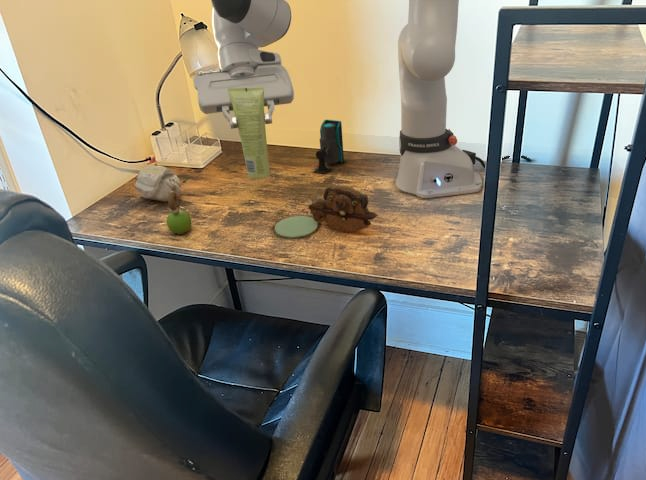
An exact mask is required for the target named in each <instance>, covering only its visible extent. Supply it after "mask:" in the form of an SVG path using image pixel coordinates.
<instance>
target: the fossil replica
mask: <svg viewBox="0 0 646 480" xmlns="http://www.w3.org/2000/svg"><path fill="white" fill-rule="evenodd" d="M169 179H171V181H169ZM172 179H175V180H174V181H172ZM171 184H175V185H176V190H177V194H178V197H180V196H181V193H182V191H181V186H182V182H181V180H180V178H179V177H178V176H177V174H175V173H174V171H172V170H171V169H170V168H168V167H166V166H163V165H156V164H154V163H151V164H149V165H146V166H144V167H142V168H141V169H140V170H139V171H138V174H137V177H136V182H135V184H134V188H135V189H136V191H138V193H139V194H140V195H141V197H142V198H144V199H147V200H153V201H157V202H162V203H167V202H168V194H169V192H170V191H171V188H170V185H171Z"/></svg>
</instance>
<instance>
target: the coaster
mask: <svg viewBox="0 0 646 480" xmlns="http://www.w3.org/2000/svg"><path fill="white" fill-rule="evenodd" d="M318 228H319V222H316V221H314V218H313V217H311V216H308V215H307V216H306V215H293V216H288V217H286V218H283V219H281V220H279V221H278V222H277V223H276V224H275V225H274V232H275V233H276V234H277V235H278V236H279V237H282V238H288V239H298V238H304V237H306V236H310V235H311V234H313V233H314V232H316V231H317V229H318Z"/></svg>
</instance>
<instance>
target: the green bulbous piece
mask: <svg viewBox="0 0 646 480" xmlns="http://www.w3.org/2000/svg"><path fill="white" fill-rule="evenodd" d="M174 180H175V179H172V181H174ZM169 181H171V179H169ZM170 188H171V191H170V192H169V194H168V201H167V202H168V203H167V204H168V207H169V209H170V210H171V212H170V213H169V214H168V215H167V216H166V217H167V218H166V225H167V228H168V229H169V231H170V232H172V233H174V234H178V235H179V234H181V235H182V234H185V233H187V232H188V231H189V230H190V228H191V227H192V218H191V215H190V214H189V213H187V211H184V210H181V209H180V200H179V196H178V194H177V190H176V185H175V184H171V185H170Z"/></svg>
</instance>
